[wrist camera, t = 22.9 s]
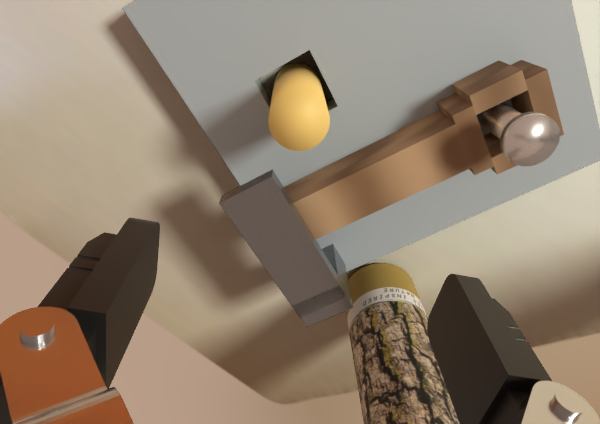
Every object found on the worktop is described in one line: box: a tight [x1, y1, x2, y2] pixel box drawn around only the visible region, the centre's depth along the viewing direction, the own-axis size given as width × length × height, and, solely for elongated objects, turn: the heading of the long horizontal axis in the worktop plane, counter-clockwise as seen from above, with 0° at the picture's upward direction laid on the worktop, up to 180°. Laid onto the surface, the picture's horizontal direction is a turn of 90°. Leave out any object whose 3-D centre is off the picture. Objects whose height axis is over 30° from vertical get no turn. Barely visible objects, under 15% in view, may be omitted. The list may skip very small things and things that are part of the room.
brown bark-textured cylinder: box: [346, 263, 460, 424], centre depth 32 cm, size 7×7×25 cm
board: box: [122, 0, 600, 272], centre depth 33 cm, size 26×26×2 cm
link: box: [284, 60, 564, 239], centre depth 32 cm, size 21×6×4 cm, turn 118°
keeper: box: [219, 169, 353, 327], centre depth 35 cm, size 12×4×8 cm, turn 28°
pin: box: [268, 63, 330, 151], centre depth 30 cm, size 4×4×9 cm
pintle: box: [476, 102, 560, 167], centre depth 31 cm, size 3×3×9 cm
